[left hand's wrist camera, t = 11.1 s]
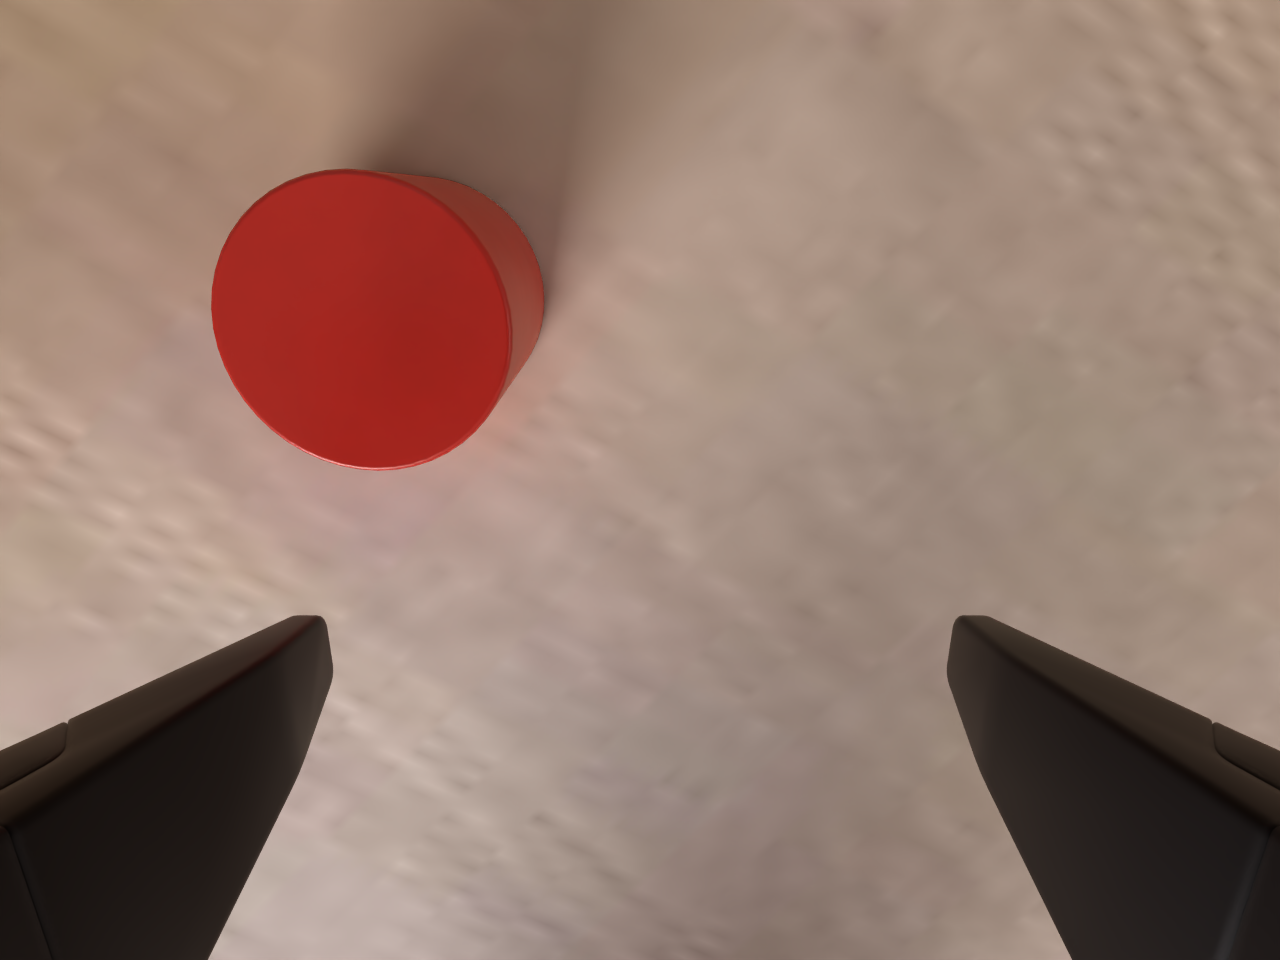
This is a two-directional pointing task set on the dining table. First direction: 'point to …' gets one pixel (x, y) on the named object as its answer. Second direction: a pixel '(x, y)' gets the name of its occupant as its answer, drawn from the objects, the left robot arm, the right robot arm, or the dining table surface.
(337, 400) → the canister
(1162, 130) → the dining table surface
